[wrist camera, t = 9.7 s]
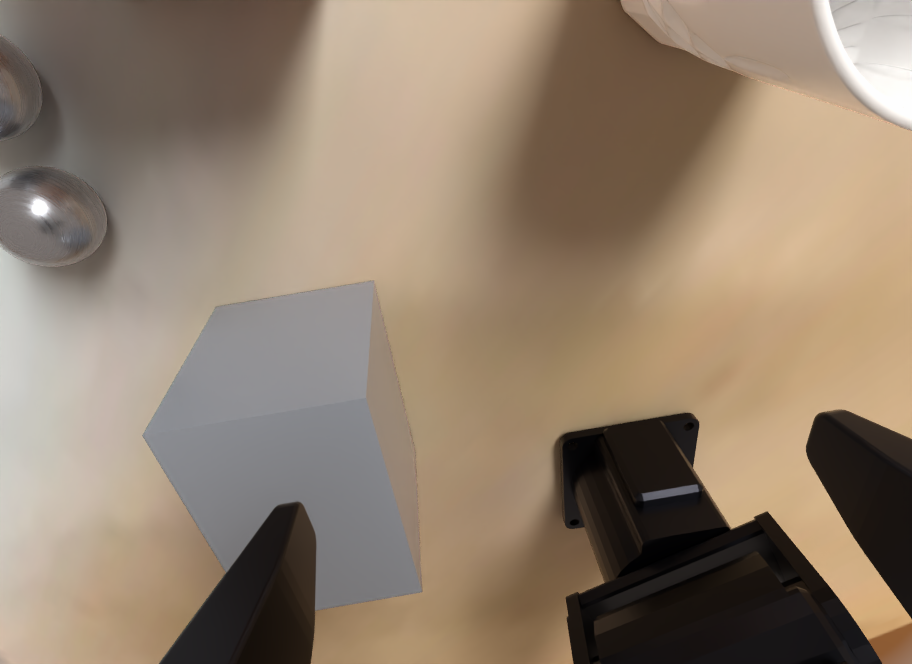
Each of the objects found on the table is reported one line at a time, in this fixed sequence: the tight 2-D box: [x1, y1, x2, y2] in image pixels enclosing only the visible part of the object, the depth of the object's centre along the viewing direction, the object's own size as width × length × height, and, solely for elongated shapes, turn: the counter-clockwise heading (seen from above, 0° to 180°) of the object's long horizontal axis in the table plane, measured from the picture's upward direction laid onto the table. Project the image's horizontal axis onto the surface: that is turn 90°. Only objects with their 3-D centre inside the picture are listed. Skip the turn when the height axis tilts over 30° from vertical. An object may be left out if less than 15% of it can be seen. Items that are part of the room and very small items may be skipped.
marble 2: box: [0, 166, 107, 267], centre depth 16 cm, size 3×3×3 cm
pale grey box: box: [142, 281, 422, 611], centre depth 20 cm, size 9×6×7 cm, turn 8°
